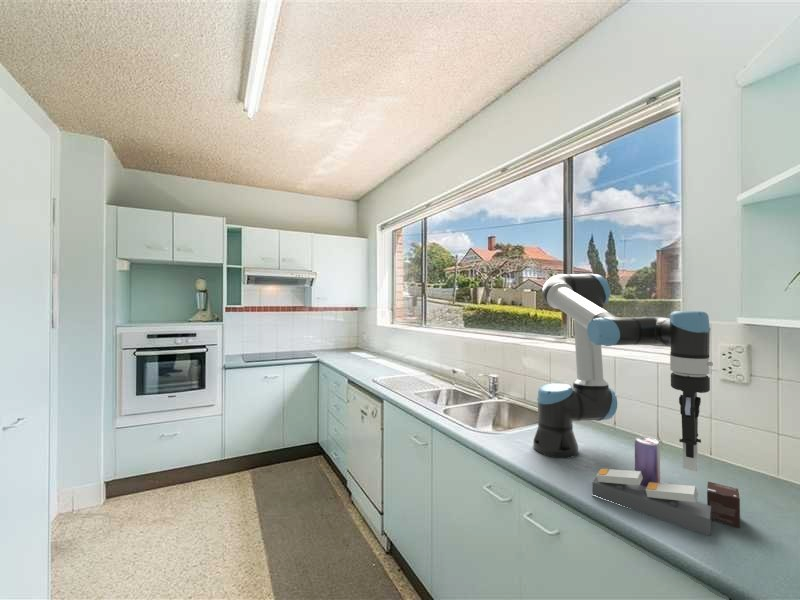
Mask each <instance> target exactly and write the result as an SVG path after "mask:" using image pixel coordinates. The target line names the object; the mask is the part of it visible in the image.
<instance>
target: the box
mask: <svg viewBox="0 0 800 600" xmlns="http://www.w3.org/2000/svg"><path fill="white" fill-rule="evenodd" d="M706 487H707V489H706V490H707V491H706V500H707V503H706V505H709V506H711V521H715V522H717V523H720V524H721V523H722V524H725V525H728V526H731V527H735V528H738V529H740V528H741V497H740V493H739V488H737V487H736V488H735V487H732V486H729V485H724V484H720V483H716V482H712V481H707V486H706Z"/></svg>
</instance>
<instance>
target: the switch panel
mask: <svg viewBox="0 0 800 600" xmlns="http://www.w3.org/2000/svg"><path fill="white" fill-rule="evenodd" d="M591 488H592V489H591V491H592V493H591V494H593V495H596V496H598V497H601V498H603V499H606V500H609V501H612V502H614V503H617V504H620V505H622V506H621V507H623V506H625V507H628V508H631V509H633V510H632V511H634V510H636V511H635V512H637V511H638V513H640V512H641V514H643V513H644V514H643V515H647V516H650V517H652V518H655V519H659V520H662V521H664V522H667V523H670V524H673V525H676V526H679V527H682V528H685V529H687V530H690V529H691V530H690V531H693V530H694V532H696V531H697V532H696V533H699V534H702V535H705V536H709V537H710V536H711V527H712V520H711V506H709V505H707V503H704V502H703V503H702V502H699V501H696V502H689V501H679V500H670V499H660V498H651V497H647V493H646V488H647V487H645V486H642V485H629V484H617V483H606V482H598V478H597V476H595V478H594V479H593V481H592V486H591ZM614 503H613V504H614ZM617 504H616V505H617ZM620 505H619V506H620ZM625 507H624V508H625ZM628 508H627V509H628ZM631 509H630V510H631Z"/></svg>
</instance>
